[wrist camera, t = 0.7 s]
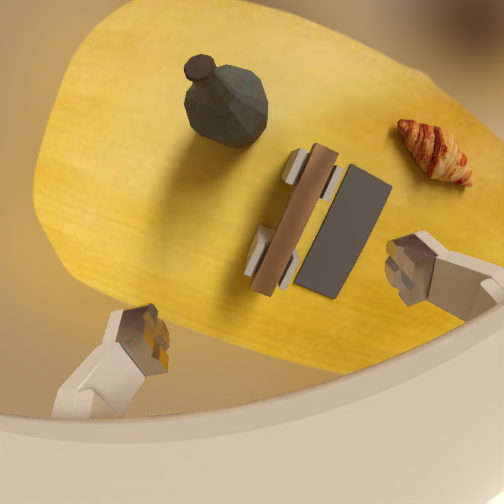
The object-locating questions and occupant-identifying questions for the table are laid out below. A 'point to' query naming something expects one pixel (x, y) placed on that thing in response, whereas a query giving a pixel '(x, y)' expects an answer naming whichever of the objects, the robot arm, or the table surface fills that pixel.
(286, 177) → the post
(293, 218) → the rail
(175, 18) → the table surface
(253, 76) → the bottle
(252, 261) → the post
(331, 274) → the mat
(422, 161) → the croissant
